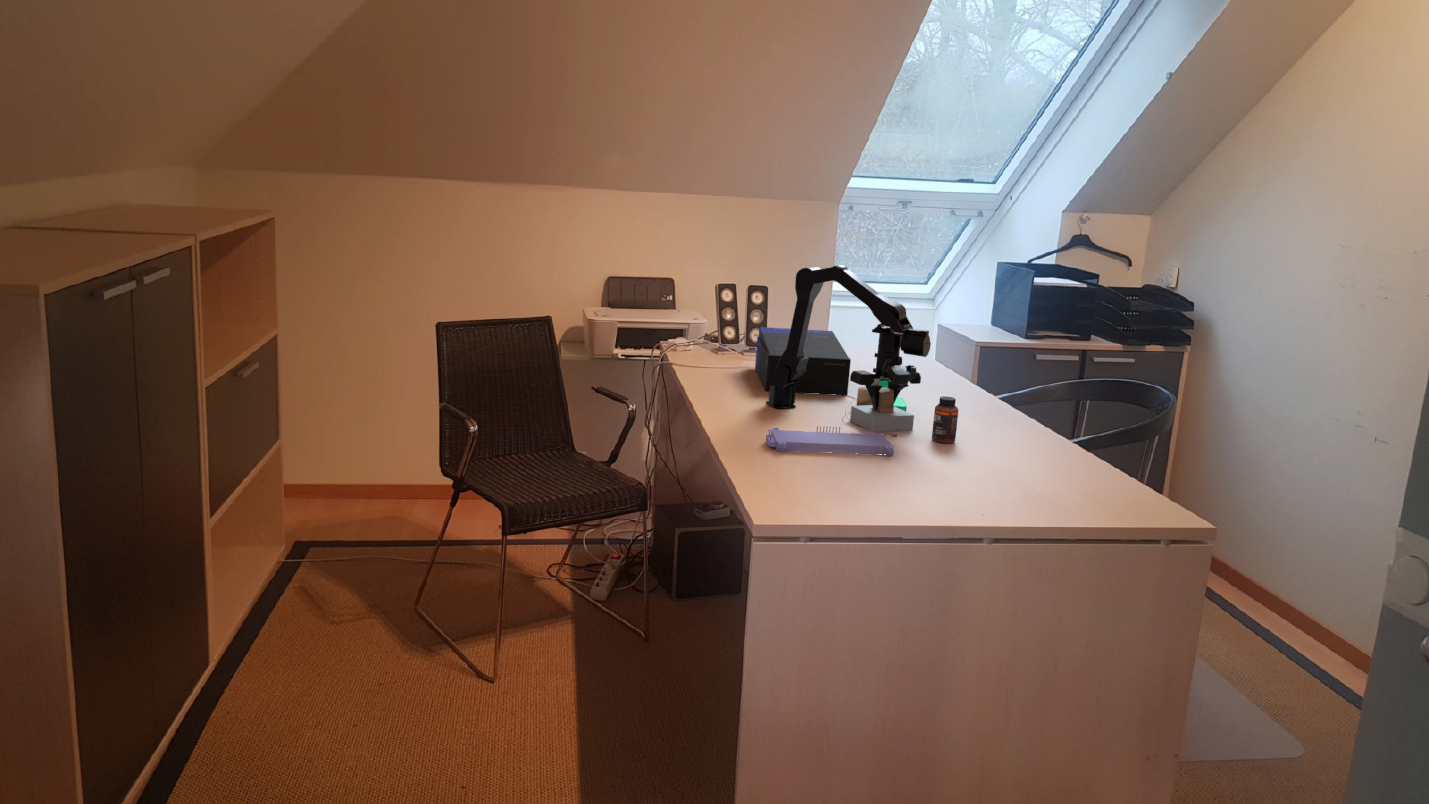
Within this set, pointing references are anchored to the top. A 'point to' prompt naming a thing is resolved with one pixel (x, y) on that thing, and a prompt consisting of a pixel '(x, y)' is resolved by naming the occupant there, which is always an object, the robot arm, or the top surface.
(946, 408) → the supplement bottle
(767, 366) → the headphone box
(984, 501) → the top surface
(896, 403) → the green angle bracket
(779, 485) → the top surface
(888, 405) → the square peg
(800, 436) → the computer part
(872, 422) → the socket block
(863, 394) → the round dowel
